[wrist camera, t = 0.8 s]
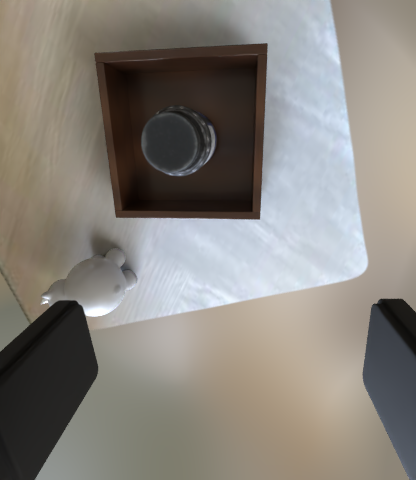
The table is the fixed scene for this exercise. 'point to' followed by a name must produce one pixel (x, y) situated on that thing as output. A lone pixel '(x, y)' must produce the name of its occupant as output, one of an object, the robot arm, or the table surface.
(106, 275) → the toy rhinoceros
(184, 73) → the box
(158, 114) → the pill bottle
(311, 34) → the table surface
